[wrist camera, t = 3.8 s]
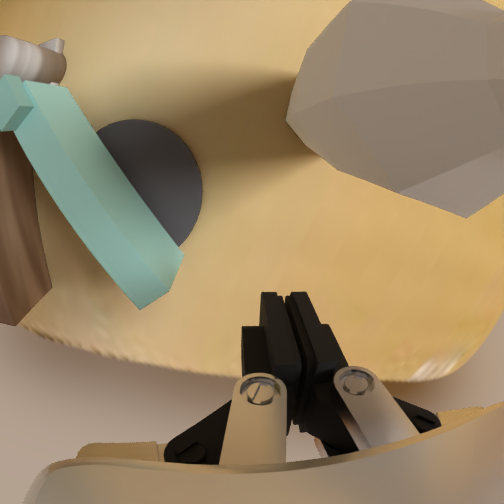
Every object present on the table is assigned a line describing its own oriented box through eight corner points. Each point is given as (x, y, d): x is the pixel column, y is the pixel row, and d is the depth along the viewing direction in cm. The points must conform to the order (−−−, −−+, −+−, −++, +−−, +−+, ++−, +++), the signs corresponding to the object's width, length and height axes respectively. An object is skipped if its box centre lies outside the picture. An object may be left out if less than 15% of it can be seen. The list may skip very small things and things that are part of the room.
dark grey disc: (203, 115, 15) (202, 114, 15) (203, 261, 18) (203, 264, 18) (68, 129, 15) (65, 129, 14) (80, 259, 18) (78, 261, 17)
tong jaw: (63, 81, 12) (6, 70, 7) (184, 254, 17) (163, 305, 12) (42, 104, 13) (-16, 102, 7) (159, 271, 17) (132, 324, 12)
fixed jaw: (70, 38, 12) (18, 16, 6) (81, 289, 19) (43, 337, 13) (19, 58, 12) (-34, 49, 6) (35, 285, 18) (-6, 326, 13)
